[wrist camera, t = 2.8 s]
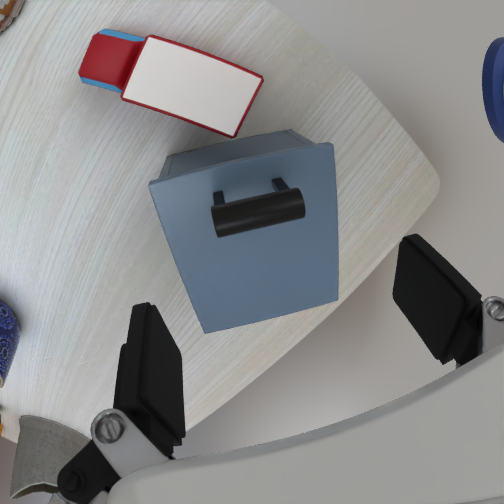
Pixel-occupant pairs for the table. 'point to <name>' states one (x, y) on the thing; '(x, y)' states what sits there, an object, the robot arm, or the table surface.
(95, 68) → the toy truck
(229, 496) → the robot arm
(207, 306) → the lid
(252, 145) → the blue open box
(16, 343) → the planter
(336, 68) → the table surface
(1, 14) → the candy apple
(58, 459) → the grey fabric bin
